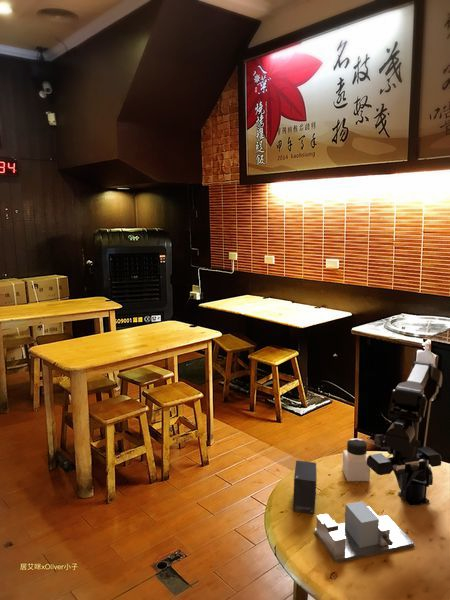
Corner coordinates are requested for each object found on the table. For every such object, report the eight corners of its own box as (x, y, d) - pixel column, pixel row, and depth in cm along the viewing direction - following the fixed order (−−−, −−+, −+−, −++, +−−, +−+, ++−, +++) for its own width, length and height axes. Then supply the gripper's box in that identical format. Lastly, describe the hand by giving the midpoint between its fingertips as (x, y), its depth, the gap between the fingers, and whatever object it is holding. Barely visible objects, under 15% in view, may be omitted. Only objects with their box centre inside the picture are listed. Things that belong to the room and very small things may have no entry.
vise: (386, 518, 133) (388, 497, 132) (414, 546, 122) (415, 524, 120) (314, 531, 127) (315, 510, 126) (335, 563, 116) (336, 540, 115)
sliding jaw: (363, 515, 132) (363, 500, 132) (394, 551, 118) (395, 535, 118) (355, 516, 132) (355, 502, 131) (386, 553, 118) (387, 537, 117)
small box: (315, 514, 135) (316, 480, 133) (292, 512, 136) (293, 478, 134) (316, 493, 145) (317, 461, 143) (294, 491, 146) (295, 459, 144)
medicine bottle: (369, 481, 151) (371, 446, 149) (347, 481, 151) (348, 446, 149) (363, 469, 158) (365, 436, 156) (342, 469, 158) (343, 436, 156)
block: (361, 524, 129) (362, 501, 127) (377, 544, 121) (379, 519, 120) (344, 527, 127) (345, 504, 126) (360, 547, 120) (361, 522, 119)
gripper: (417, 417, 132) (413, 469, 135) (356, 425, 128) (354, 479, 130) (445, 435, 122) (440, 491, 124) (380, 444, 117) (377, 502, 120)
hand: (402, 490), depth 125 cm, fingers closed
